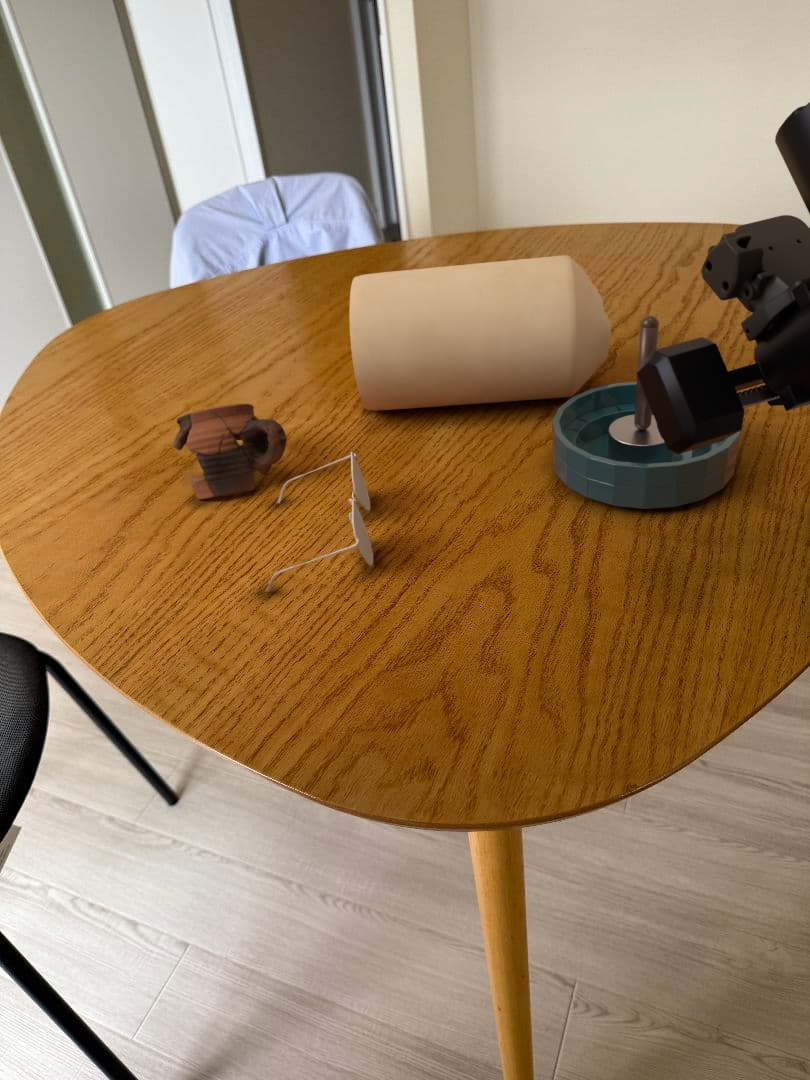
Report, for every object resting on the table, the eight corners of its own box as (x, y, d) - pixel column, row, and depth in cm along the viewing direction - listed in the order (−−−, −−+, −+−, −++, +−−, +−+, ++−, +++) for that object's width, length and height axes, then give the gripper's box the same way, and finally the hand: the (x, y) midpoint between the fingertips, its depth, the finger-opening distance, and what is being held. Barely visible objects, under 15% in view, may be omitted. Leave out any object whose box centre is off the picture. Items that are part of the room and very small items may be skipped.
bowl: (772, 466, 66) (781, 419, 64) (645, 537, 61) (649, 489, 58) (637, 409, 77) (640, 367, 75) (518, 465, 71) (517, 421, 69)
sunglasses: (374, 582, 60) (354, 531, 57) (272, 609, 61) (247, 561, 58) (369, 487, 71) (352, 441, 68) (282, 511, 72) (262, 467, 69)
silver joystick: (670, 478, 66) (684, 330, 58) (602, 472, 68) (608, 328, 60) (676, 446, 70) (690, 303, 62) (612, 441, 72) (618, 302, 64)
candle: (358, 254, 82) (601, 230, 79) (376, 371, 91) (596, 354, 88) (341, 310, 72) (620, 285, 68) (364, 436, 80) (612, 420, 77)
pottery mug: (166, 508, 73) (146, 421, 73) (226, 497, 82) (208, 419, 81) (272, 485, 68) (252, 392, 68) (324, 476, 77) (306, 393, 76)
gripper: (946, 148, 45) (778, 288, 60) (667, 212, 41) (562, 345, 56) (1032, 321, 43) (836, 420, 58) (750, 406, 39) (618, 489, 54)
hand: (715, 414), depth 57 cm, fingers open, 9 cm apart
